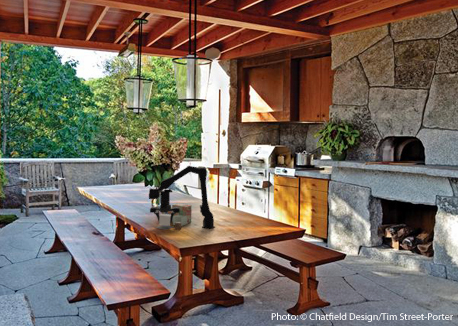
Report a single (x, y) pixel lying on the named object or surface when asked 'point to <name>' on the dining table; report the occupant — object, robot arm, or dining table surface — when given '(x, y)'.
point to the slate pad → (164, 227)
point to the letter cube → (177, 225)
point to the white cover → (165, 219)
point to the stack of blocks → (182, 211)
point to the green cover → (180, 219)
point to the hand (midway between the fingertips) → (165, 222)
